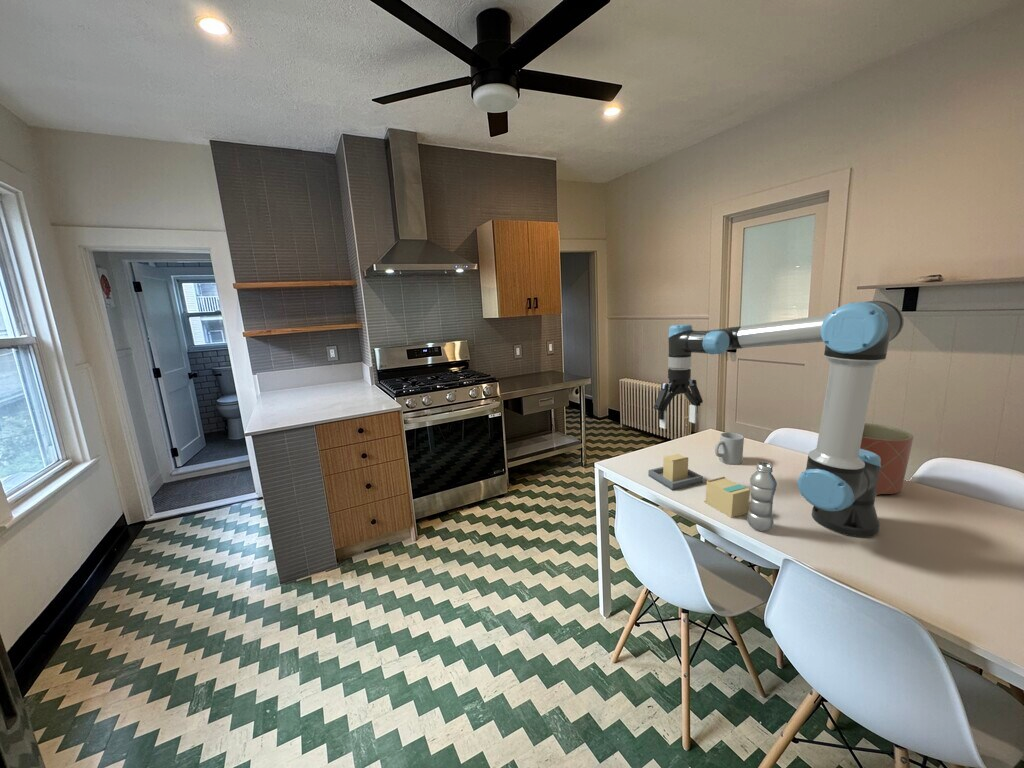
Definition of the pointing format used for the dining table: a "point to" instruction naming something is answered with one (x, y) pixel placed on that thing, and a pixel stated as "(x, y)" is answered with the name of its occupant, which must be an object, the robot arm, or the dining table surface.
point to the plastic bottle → (762, 497)
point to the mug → (730, 448)
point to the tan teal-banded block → (727, 496)
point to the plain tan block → (675, 467)
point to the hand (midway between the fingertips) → (677, 425)
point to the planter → (888, 454)
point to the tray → (691, 480)
